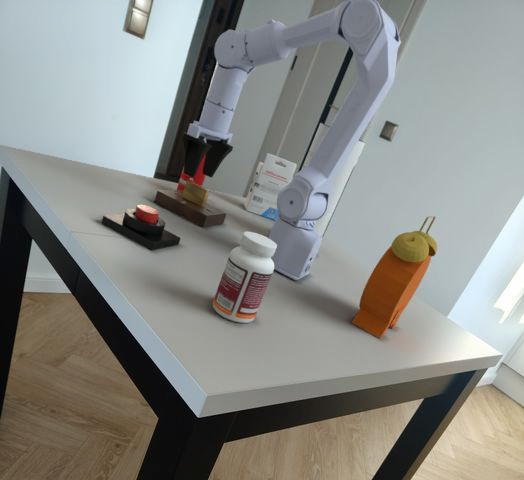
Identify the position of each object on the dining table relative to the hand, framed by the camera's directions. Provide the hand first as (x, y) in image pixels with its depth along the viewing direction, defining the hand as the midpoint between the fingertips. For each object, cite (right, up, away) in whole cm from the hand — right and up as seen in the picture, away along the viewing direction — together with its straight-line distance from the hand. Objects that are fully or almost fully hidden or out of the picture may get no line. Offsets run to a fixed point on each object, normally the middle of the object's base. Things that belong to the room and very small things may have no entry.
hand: (198, 175), depth 102 cm
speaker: (+20, -12, +14) cm, 27 cm away
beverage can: (-5, -1, +14) cm, 15 cm away
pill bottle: (+9, -30, -32) cm, 45 cm away
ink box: (+12, 0, +29) cm, 32 cm away
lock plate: (-2, -7, +4) cm, 8 cm away
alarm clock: (+32, -31, -13) cm, 46 cm away
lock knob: (-1, -5, +3) cm, 5 cm away
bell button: (-6, -14, -20) cm, 25 cm away
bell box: (-7, -16, -18) cm, 25 cm away
